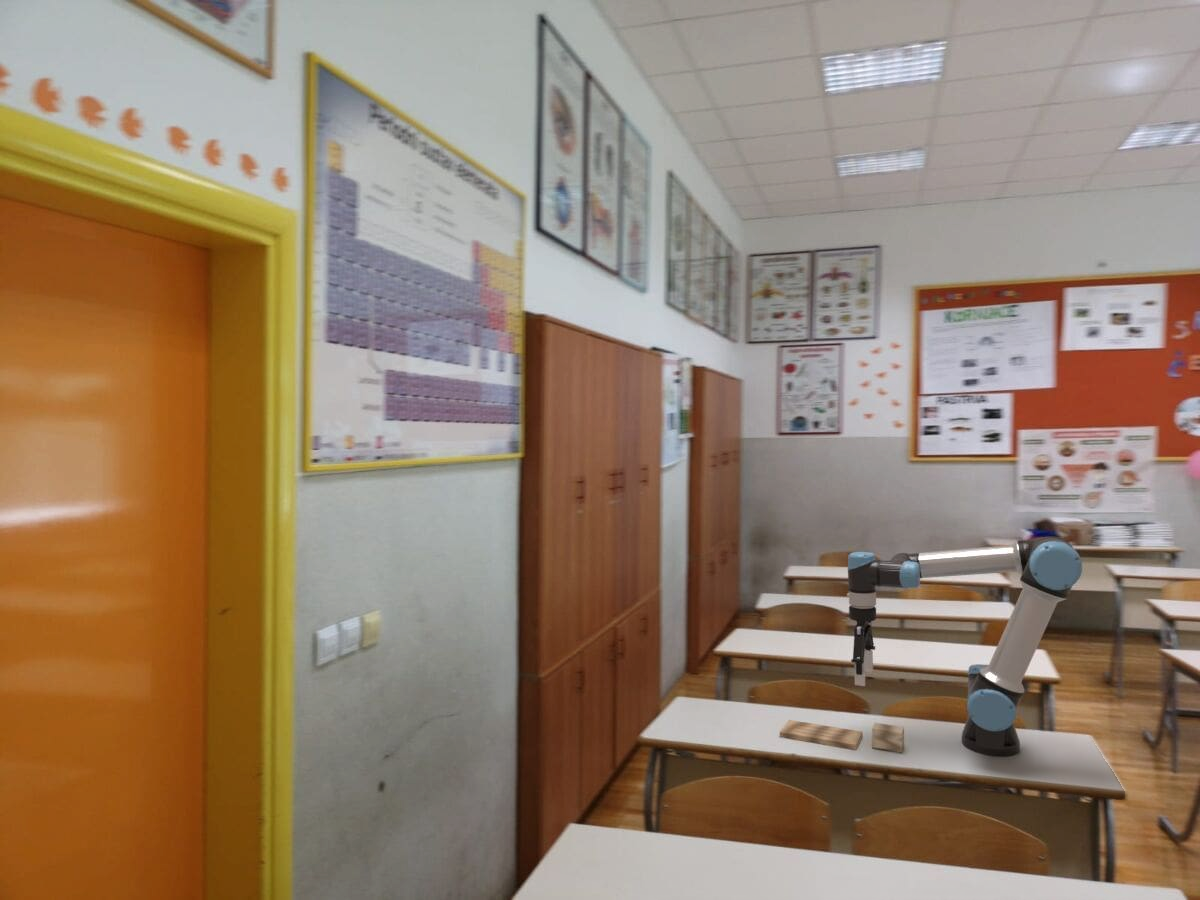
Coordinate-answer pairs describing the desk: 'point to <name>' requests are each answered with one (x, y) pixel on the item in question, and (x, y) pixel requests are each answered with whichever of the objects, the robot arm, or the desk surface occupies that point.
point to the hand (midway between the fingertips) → (864, 678)
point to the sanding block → (888, 738)
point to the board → (822, 734)
